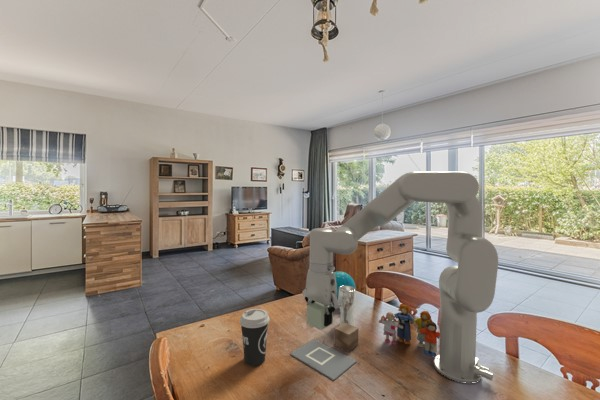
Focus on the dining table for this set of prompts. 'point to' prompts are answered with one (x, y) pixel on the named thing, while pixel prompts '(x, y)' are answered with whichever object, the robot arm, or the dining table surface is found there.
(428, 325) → the doll family
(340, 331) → the walnut block
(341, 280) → the decorative orb
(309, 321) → the sage block
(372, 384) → the dining table surface
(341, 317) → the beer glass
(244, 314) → the coffee cup
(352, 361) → the felt mat
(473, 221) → the robot arm
